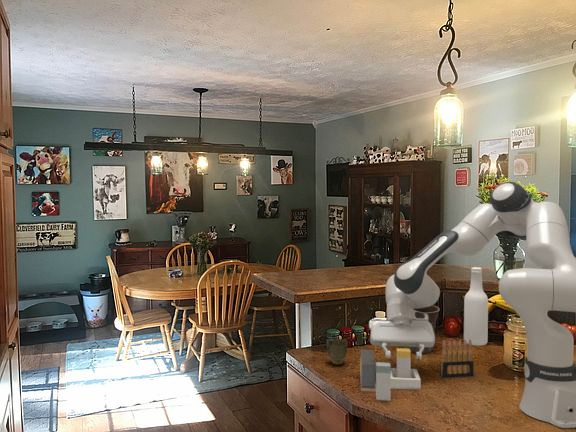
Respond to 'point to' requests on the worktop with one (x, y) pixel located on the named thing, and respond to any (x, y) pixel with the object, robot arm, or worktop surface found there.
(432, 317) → the plant pot
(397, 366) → the block
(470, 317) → the white bottle
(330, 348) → the cup
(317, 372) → the worktop surface
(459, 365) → the ammunition clip
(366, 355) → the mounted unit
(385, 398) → the block
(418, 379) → the parts tray
